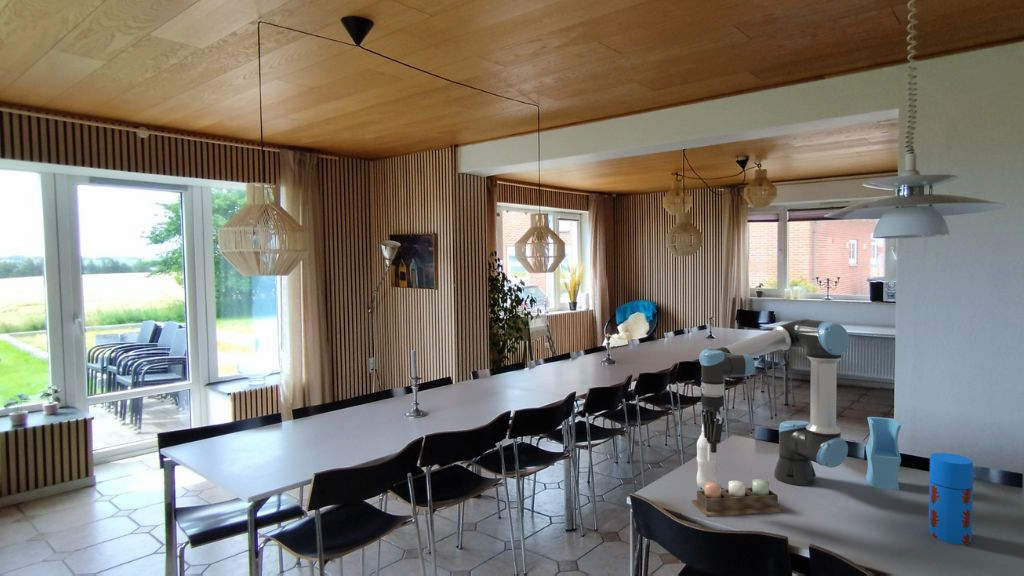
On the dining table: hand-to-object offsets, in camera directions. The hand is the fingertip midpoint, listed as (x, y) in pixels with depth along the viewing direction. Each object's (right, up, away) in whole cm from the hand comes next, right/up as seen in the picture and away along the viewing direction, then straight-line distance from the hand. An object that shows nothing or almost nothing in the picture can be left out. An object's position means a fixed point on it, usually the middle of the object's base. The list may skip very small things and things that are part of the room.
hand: (711, 460), depth 203 cm
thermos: (+67, -18, -22) cm, 73 cm away
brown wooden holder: (+9, -17, +2) cm, 20 cm away
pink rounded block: (+1, -14, +1) cm, 14 cm away
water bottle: (+5, -17, +19) cm, 26 cm away
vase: (+74, -16, +21) cm, 78 cm away
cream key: (+9, -14, +2) cm, 17 cm away
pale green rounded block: (+18, -13, +3) cm, 23 cm away
